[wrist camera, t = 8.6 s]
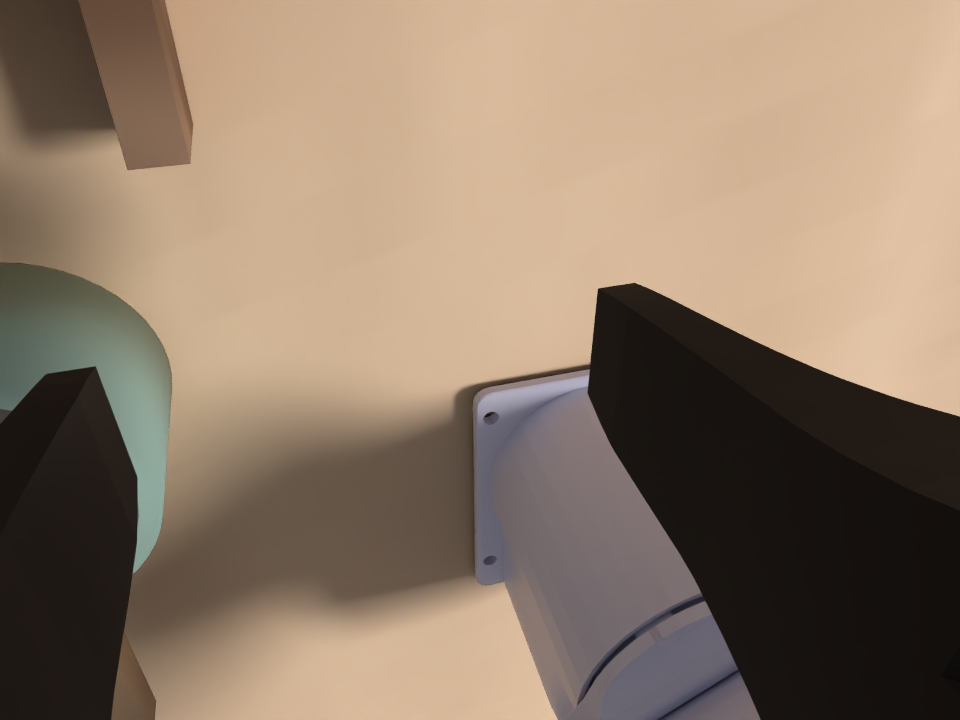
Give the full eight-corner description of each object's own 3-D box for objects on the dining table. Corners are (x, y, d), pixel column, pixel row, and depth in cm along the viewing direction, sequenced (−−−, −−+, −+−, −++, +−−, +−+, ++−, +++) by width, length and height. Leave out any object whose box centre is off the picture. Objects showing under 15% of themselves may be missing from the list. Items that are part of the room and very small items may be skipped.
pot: (-196, 283, 17) (-318, 424, 13) (133, 243, 19) (112, 358, 15) (25, 647, 25) (-9, 800, 21) (241, 597, 27) (246, 732, 23)
